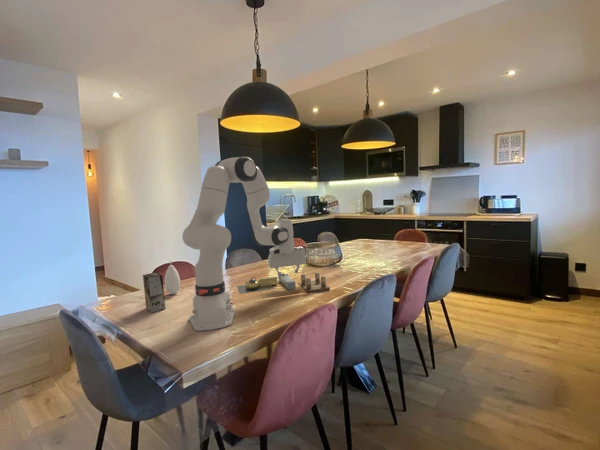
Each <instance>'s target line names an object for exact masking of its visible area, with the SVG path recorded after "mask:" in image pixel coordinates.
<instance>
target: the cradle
mask: <svg viewBox="0 0 600 450" xmlns="http://www.w3.org/2000/svg"><path fill="white" fill-rule="evenodd" d="M326 280H327V279H326V275H321V276H320V272H314V280H312V279H311V277H306V274H305V273H303V274H300V282H297V284H298V285H299V286H300V287H301V288H302V289H304V290H305V293H306V294H313V293H320V292H327V291H330V290H331V289H330V286H329V285H327V283H326V282H327V281H326Z"/></svg>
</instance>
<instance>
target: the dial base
mask: <svg viewBox="0 0 600 450" xmlns="http://www.w3.org/2000/svg"><path fill="white" fill-rule="evenodd" d="M236 287H237V288H236V289H237V291H238V293H239V294H240V295H241V294H249V293H256V292H263V291H270V290H275V288H274V285H270V286H262V287H260V288H257V289H246V287H245V284H240V285H236Z"/></svg>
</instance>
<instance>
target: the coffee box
mask: <svg viewBox="0 0 600 450" xmlns="http://www.w3.org/2000/svg"><path fill="white" fill-rule="evenodd" d="M142 280H143V288H144V289H143V291H144V298H145V299H144V300H145V308H146V310H148V311H149V310H150V311H149V312H151V313H155V312H159V311H162V310H161V309H163V310H166V301H165V300H166V299H165V289H164V279H163V274H161V273H159V272H151V273H146V274H142ZM158 310H159V311H158ZM154 311H155V312H154Z"/></svg>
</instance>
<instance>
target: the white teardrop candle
mask: <svg viewBox="0 0 600 450" xmlns="http://www.w3.org/2000/svg"><path fill="white" fill-rule="evenodd" d="M164 287H165V290H166V292H167V293H169V294H170V295H176V294H177V293H178V292H179V291H180V288H181V278H180V273H178V270H177V269H176V267H175V266H174V265H172V261H171V260H170V265H168V268H167V269H166V271H165V276H164Z"/></svg>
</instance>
